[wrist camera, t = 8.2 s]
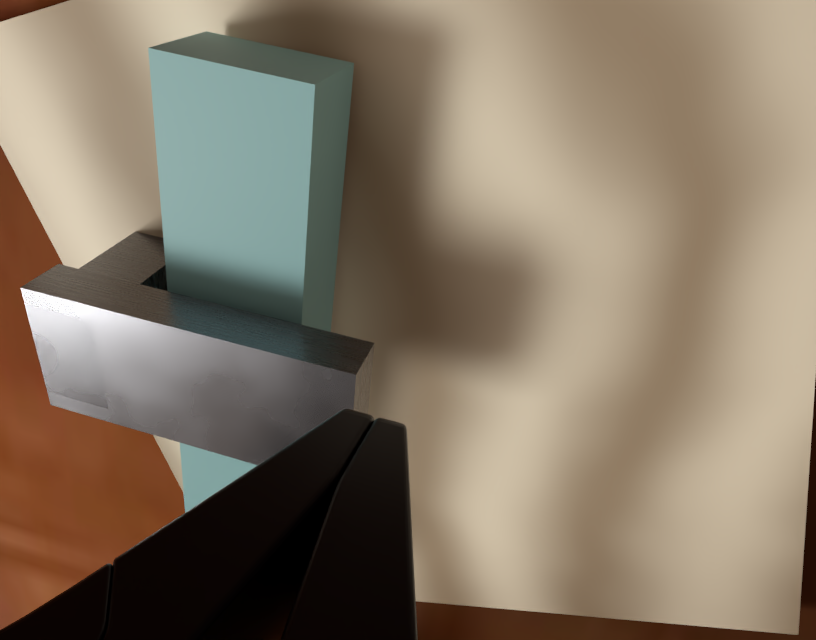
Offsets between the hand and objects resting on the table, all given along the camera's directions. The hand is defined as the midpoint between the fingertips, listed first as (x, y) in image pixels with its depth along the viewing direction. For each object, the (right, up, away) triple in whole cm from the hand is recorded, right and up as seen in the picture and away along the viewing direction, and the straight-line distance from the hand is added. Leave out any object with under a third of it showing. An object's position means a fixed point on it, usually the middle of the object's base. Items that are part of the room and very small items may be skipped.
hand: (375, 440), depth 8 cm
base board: (+1, +1, +13) cm, 13 cm away
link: (-4, 0, +14) cm, 14 cm away
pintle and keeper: (-5, -2, +15) cm, 16 cm away
